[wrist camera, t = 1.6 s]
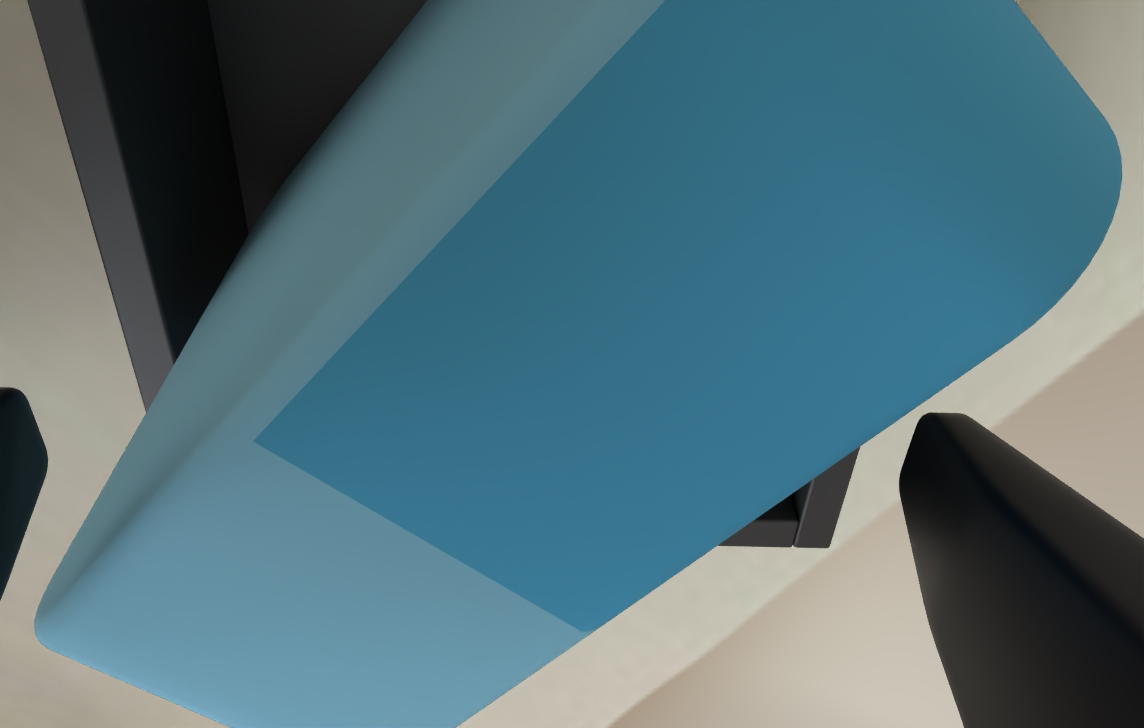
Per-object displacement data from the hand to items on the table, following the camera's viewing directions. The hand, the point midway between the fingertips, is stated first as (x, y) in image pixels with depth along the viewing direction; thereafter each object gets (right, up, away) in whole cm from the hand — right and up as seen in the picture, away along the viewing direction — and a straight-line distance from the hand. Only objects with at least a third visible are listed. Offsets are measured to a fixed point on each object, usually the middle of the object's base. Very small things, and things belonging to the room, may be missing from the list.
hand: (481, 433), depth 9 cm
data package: (0, +7, +9) cm, 11 cm away
